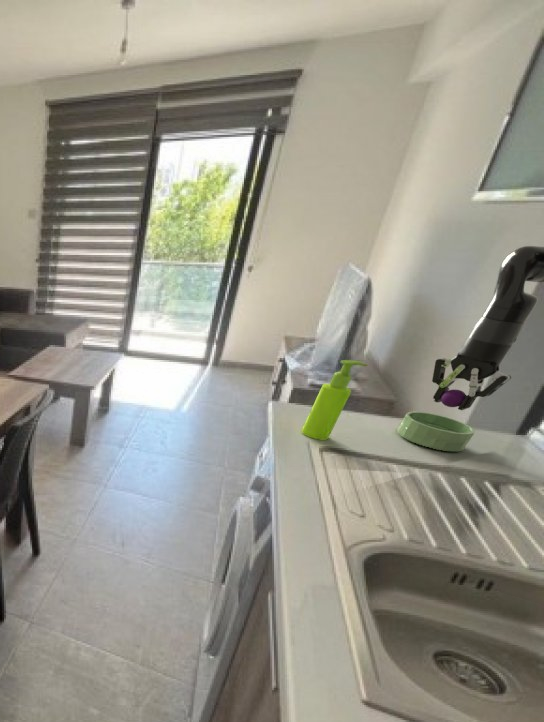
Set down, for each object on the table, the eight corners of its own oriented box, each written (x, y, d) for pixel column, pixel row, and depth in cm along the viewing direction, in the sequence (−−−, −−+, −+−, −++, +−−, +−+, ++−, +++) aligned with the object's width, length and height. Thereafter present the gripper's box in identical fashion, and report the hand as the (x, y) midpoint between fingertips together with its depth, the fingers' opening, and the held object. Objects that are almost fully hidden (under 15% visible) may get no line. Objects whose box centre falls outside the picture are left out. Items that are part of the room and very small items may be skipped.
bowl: (472, 449, 122) (485, 430, 120) (445, 456, 118) (458, 437, 115) (412, 427, 133) (423, 409, 130) (385, 433, 128) (395, 414, 126)
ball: (464, 408, 120) (474, 392, 117) (454, 410, 118) (465, 394, 116) (442, 402, 123) (452, 386, 121) (433, 404, 122) (443, 387, 119)
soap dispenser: (337, 440, 123) (375, 365, 113) (310, 439, 122) (346, 364, 113) (321, 430, 128) (356, 358, 118) (296, 429, 128) (329, 356, 118)
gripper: (445, 331, 116) (407, 396, 125) (524, 348, 105) (477, 419, 113) (461, 329, 119) (423, 393, 127) (540, 346, 108) (493, 415, 116)
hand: (449, 405), depth 120 cm, fingers closed on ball, 4 cm apart
